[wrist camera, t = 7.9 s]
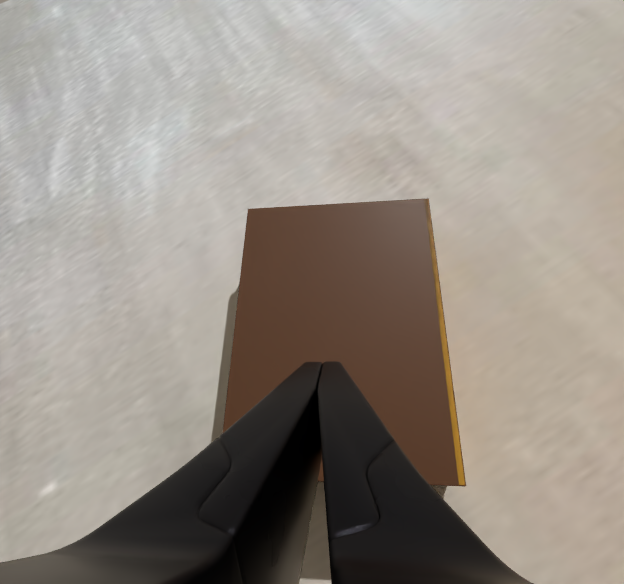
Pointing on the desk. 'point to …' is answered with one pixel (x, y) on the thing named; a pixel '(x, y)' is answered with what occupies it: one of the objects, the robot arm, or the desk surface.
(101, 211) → the desk surface
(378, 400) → the book
